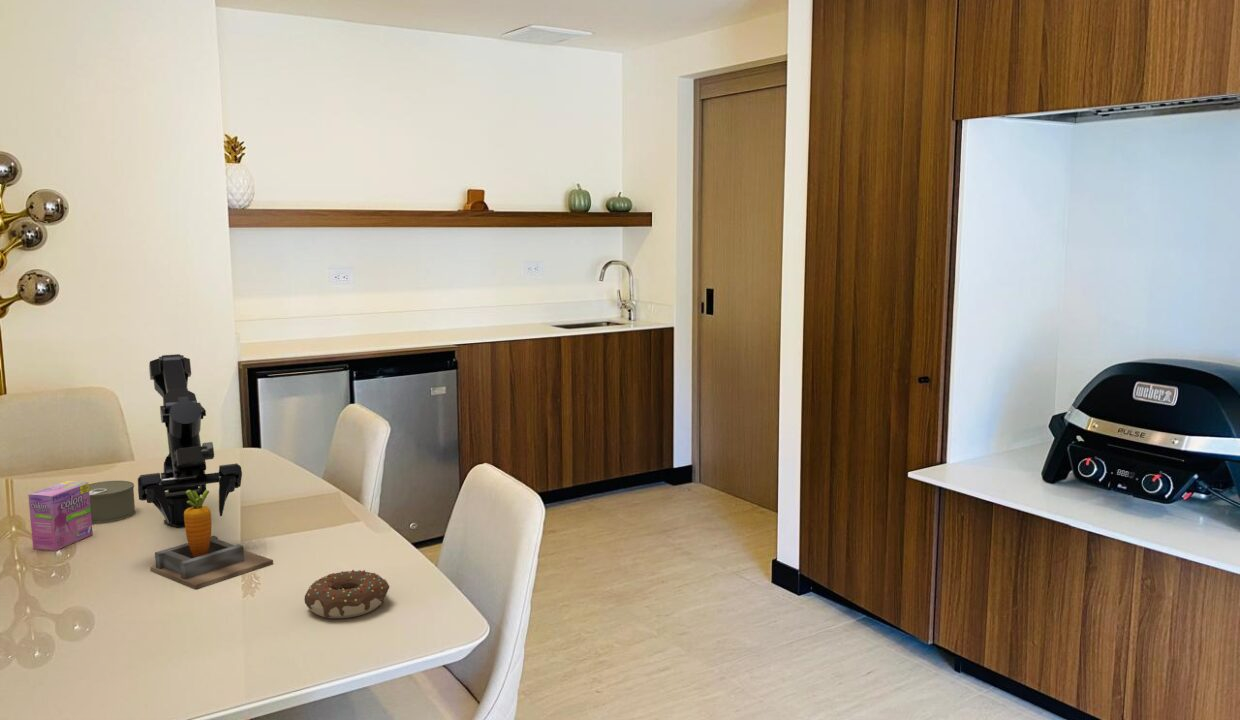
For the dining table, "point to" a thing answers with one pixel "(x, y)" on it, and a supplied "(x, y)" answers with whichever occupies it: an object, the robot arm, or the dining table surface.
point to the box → (60, 515)
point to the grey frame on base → (206, 563)
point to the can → (111, 501)
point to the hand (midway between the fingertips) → (195, 518)
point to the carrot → (198, 524)
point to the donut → (346, 594)
